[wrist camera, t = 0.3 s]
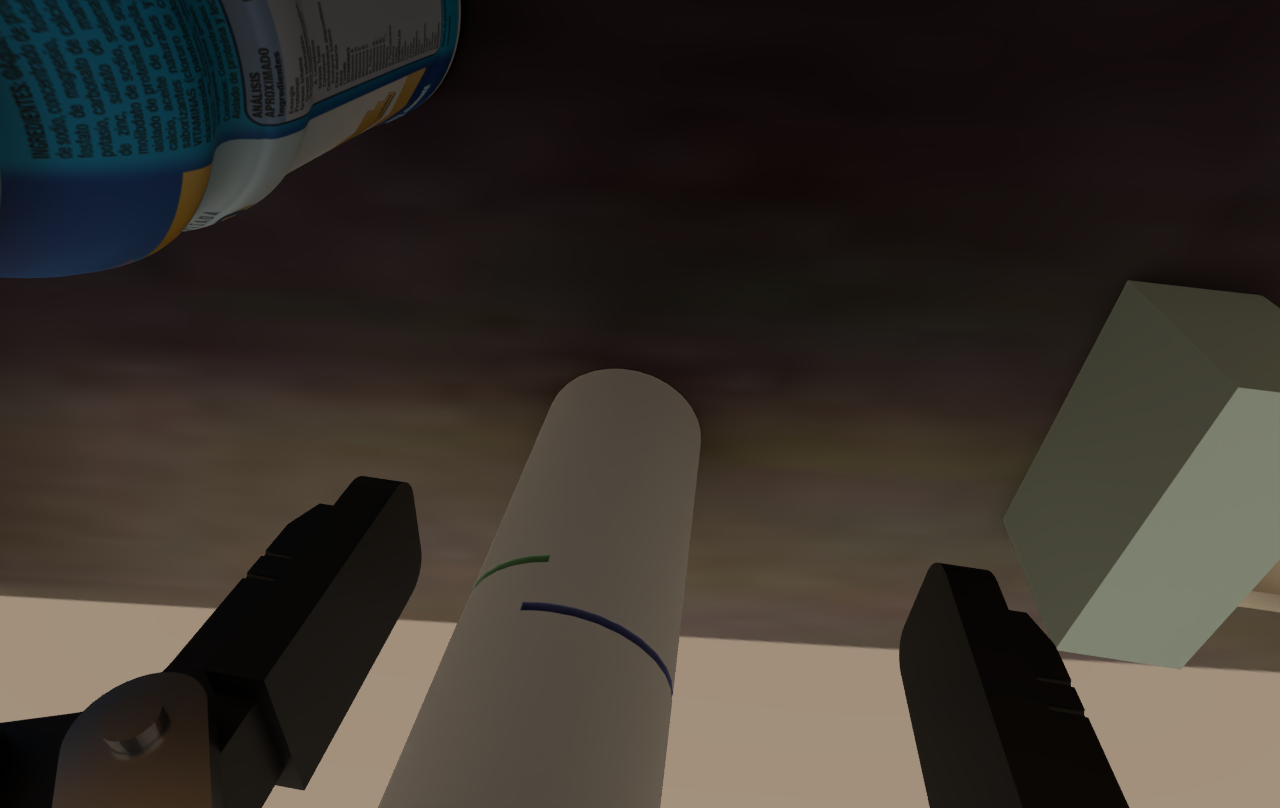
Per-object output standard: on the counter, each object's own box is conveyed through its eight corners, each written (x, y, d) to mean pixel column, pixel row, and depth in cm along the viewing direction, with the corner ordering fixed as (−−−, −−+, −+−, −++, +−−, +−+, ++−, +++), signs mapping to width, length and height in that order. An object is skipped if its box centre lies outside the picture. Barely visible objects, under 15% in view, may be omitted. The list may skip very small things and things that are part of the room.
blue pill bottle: (509, -79, 21) (-394, -82, 4) (428, 165, 25) (-151, 592, 9) (238, -253, 19) (-2558, -1191, 3) (205, 41, 24) (-943, 290, 8)
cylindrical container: (695, 499, 33) (596, 1404, 13) (552, 483, 34) (246, 1314, 14) (706, 376, 29) (587, 1425, 9) (543, 361, 30) (84, 1295, 10)
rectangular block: (1126, 278, 24) (1238, 387, 19) (1294, 298, 24) (1462, 414, 18) (1001, 518, 31) (1055, 649, 26) (1129, 536, 31) (1213, 674, 25)
